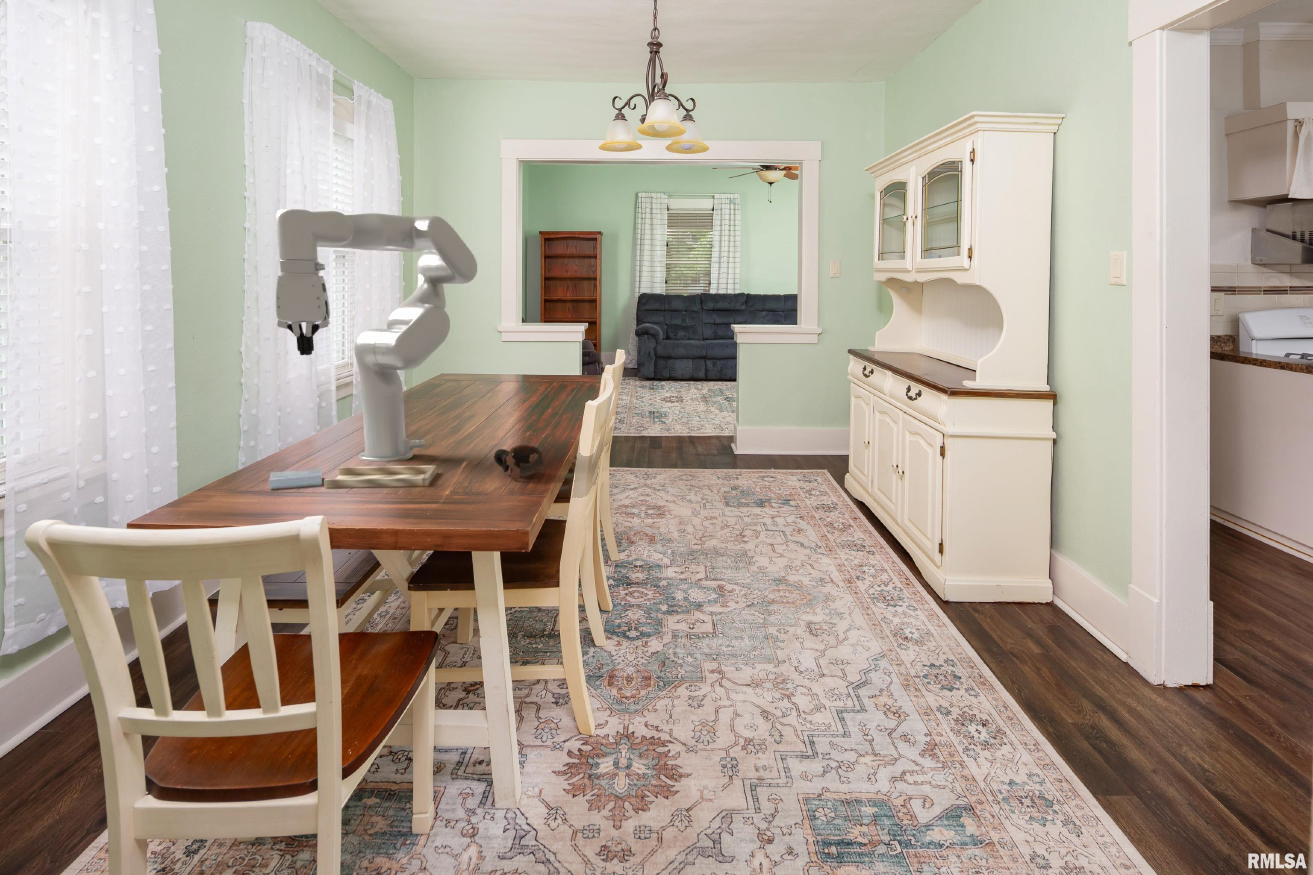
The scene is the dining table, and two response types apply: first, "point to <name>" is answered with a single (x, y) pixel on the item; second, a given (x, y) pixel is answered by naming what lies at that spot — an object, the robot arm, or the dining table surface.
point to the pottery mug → (519, 460)
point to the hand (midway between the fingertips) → (306, 354)
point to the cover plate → (295, 479)
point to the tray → (382, 476)
